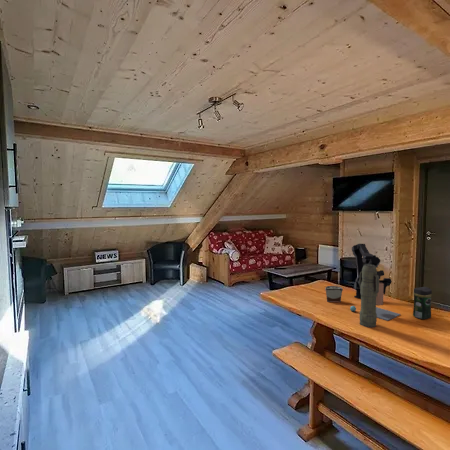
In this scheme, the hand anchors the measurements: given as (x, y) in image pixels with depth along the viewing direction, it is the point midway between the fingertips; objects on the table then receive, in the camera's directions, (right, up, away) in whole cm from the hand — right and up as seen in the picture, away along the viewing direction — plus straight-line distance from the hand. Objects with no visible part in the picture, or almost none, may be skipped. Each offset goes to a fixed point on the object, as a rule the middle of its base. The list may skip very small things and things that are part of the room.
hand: (377, 293), depth 188 cm
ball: (-12, -13, +7) cm, 19 cm away
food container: (-18, -12, +29) cm, 36 cm away
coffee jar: (+25, -14, -4) cm, 29 cm away
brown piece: (0, -7, +2) cm, 7 cm away
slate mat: (+3, -13, +2) cm, 14 cm away
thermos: (-13, -15, -14) cm, 24 cm away
